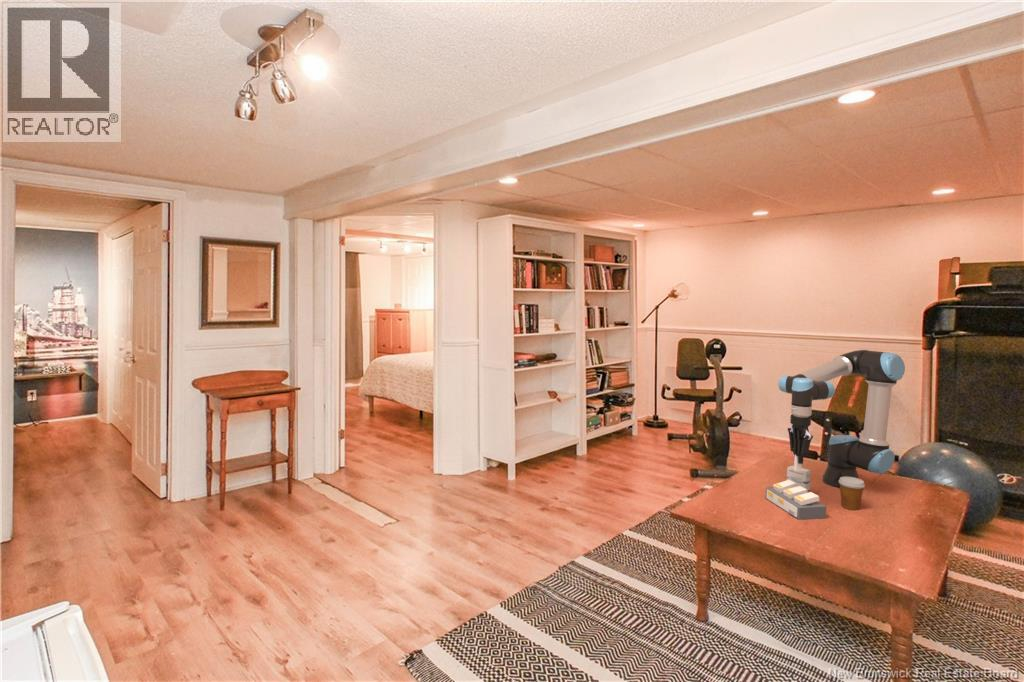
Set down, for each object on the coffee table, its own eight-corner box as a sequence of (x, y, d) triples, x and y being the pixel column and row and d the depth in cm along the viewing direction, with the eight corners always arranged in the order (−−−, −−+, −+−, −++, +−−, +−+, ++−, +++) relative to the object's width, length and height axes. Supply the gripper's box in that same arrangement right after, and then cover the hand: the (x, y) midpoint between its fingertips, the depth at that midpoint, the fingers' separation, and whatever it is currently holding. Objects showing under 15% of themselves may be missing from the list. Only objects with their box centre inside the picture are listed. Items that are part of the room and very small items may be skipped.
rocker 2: (800, 490, 228) (799, 485, 228) (807, 494, 223) (807, 489, 223) (783, 494, 227) (782, 490, 227) (790, 498, 223) (789, 494, 222)
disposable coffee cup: (867, 512, 221) (869, 484, 220) (842, 510, 223) (843, 483, 222) (857, 503, 230) (859, 476, 229) (833, 501, 232) (835, 475, 231)
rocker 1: (790, 483, 235) (789, 479, 235) (796, 487, 230) (795, 483, 230) (773, 488, 234) (772, 484, 234) (779, 492, 230) (779, 488, 229)
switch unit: (790, 497, 237) (791, 485, 237) (825, 518, 216) (826, 504, 215) (764, 498, 236) (765, 486, 235) (797, 519, 214) (798, 506, 214)
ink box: (809, 495, 240) (811, 469, 239) (805, 497, 237) (806, 472, 236) (790, 489, 247) (791, 464, 245) (785, 492, 243) (786, 467, 242)
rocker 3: (811, 496, 221) (811, 491, 221) (819, 500, 217) (818, 495, 216) (794, 501, 220) (793, 496, 220) (801, 505, 216) (800, 500, 215)
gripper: (782, 411, 227) (780, 465, 230) (802, 419, 214) (799, 476, 217) (798, 411, 228) (796, 464, 231) (820, 418, 215) (816, 475, 218)
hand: (797, 470), depth 224 cm, fingers closed
